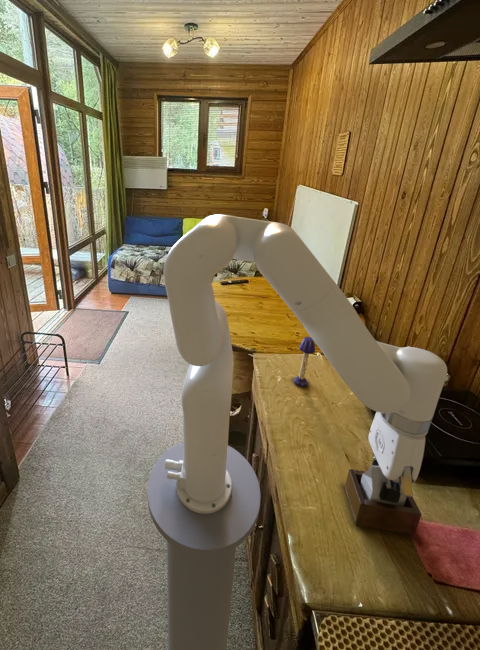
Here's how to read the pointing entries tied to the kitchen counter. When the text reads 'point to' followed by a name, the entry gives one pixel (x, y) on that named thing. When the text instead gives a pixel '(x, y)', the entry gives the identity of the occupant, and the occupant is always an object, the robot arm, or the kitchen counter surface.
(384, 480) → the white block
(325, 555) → the kitchen counter surface
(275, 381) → the kitchen counter surface
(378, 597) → the kitchen counter surface
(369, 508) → the box
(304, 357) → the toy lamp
